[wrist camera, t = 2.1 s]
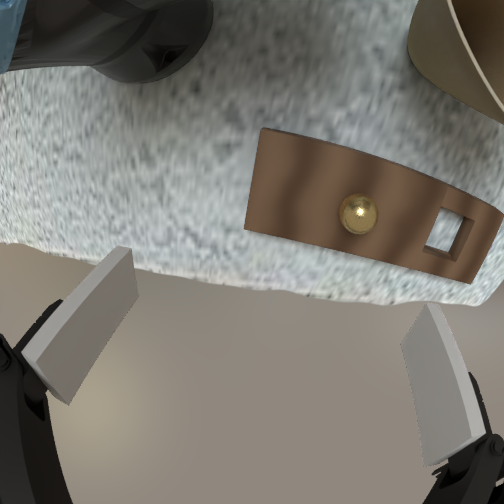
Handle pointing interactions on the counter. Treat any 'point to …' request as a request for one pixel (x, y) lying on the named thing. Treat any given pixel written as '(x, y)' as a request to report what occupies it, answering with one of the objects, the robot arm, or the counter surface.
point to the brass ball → (359, 213)
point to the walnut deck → (375, 186)
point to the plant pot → (462, 50)
